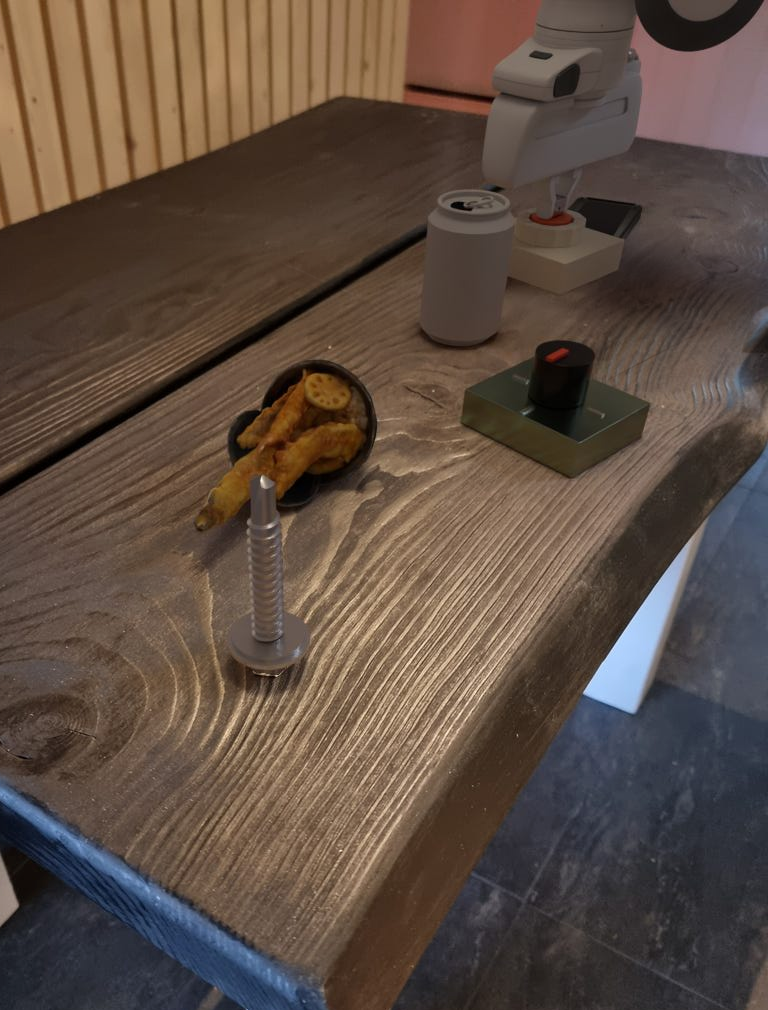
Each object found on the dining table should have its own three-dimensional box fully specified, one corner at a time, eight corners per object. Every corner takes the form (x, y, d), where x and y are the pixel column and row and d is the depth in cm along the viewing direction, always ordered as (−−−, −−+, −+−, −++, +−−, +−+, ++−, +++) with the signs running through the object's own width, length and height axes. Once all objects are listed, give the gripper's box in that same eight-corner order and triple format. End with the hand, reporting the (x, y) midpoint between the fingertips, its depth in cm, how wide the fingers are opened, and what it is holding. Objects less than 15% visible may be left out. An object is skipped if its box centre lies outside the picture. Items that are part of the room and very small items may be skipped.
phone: (644, 204, 109) (615, 245, 100) (642, 214, 110) (613, 256, 100) (578, 195, 112) (543, 234, 102) (576, 205, 113) (542, 245, 103)
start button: (576, 234, 96) (579, 216, 95) (552, 243, 95) (555, 225, 93) (545, 224, 99) (548, 207, 98) (521, 233, 97) (524, 215, 96)
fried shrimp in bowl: (417, 393, 69) (351, 436, 53) (344, 512, 74) (266, 583, 59) (315, 326, 70) (221, 350, 54) (251, 450, 75) (148, 503, 59)
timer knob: (550, 376, 74) (558, 331, 72) (597, 395, 72) (608, 348, 69) (516, 394, 72) (524, 348, 69) (564, 415, 70) (574, 367, 67)
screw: (303, 696, 52) (220, 687, 53) (315, 639, 56) (237, 631, 57) (302, 505, 44) (203, 497, 44) (317, 452, 47) (225, 445, 48)
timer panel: (641, 437, 73) (651, 400, 71) (571, 478, 69) (579, 441, 66) (531, 387, 79) (537, 352, 77) (460, 422, 75) (464, 387, 73)
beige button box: (618, 270, 98) (629, 221, 95) (559, 296, 93) (568, 245, 90) (528, 240, 105) (536, 193, 101) (469, 262, 100) (475, 214, 97)
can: (411, 318, 90) (422, 186, 82) (487, 314, 90) (505, 183, 82) (426, 352, 84) (439, 214, 76) (507, 348, 85) (528, 210, 77)
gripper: (615, 40, 93) (587, 187, 102) (480, 71, 83) (462, 230, 93) (671, 49, 89) (635, 200, 99) (536, 83, 80) (511, 247, 89)
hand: (550, 215), depth 95 cm, fingers closed, pressing on start button
